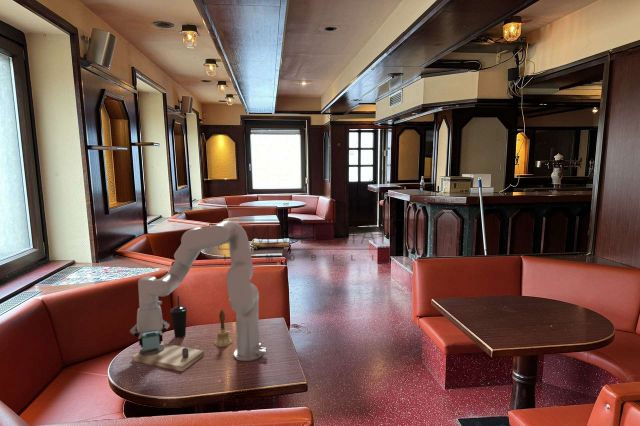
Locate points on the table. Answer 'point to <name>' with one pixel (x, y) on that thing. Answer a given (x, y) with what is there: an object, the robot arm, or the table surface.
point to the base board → (169, 356)
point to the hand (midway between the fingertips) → (151, 344)
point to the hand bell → (222, 333)
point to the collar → (150, 340)
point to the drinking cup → (179, 320)
